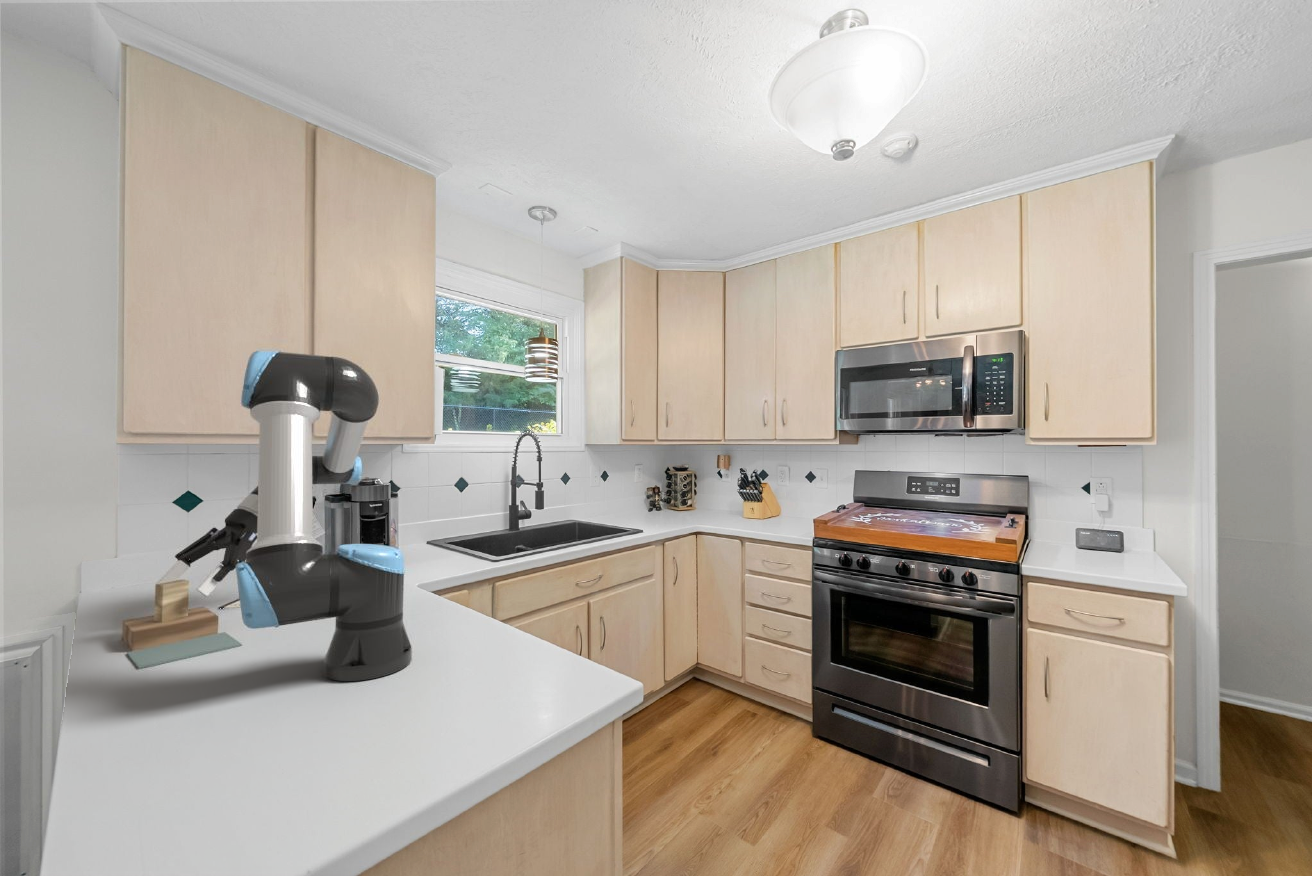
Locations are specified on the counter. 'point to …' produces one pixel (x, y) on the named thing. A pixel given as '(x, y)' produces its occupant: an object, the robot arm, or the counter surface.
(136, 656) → the rubber mat
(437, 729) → the counter surface
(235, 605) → the chocolate bar
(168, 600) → the birch block
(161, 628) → the walnut block
